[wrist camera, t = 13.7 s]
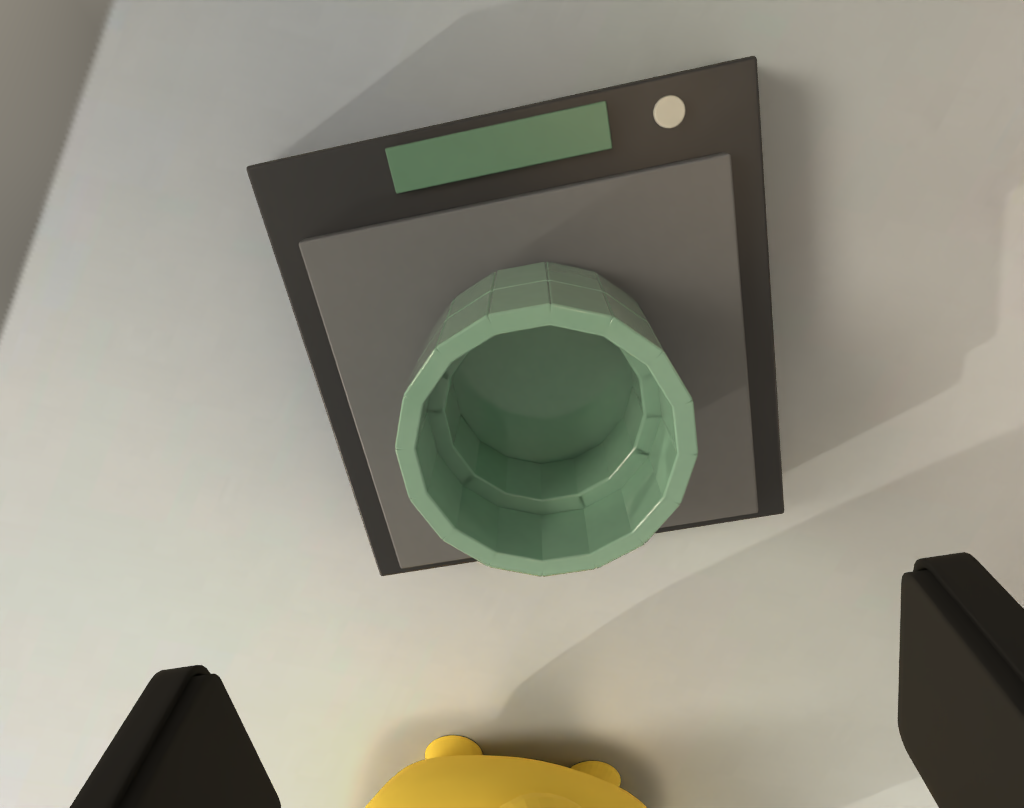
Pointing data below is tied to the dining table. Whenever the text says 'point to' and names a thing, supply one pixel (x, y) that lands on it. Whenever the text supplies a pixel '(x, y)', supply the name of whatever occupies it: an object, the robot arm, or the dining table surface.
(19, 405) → the dining table surface
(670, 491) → the bowl
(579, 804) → the teapot
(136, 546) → the dining table surface
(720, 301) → the scale
